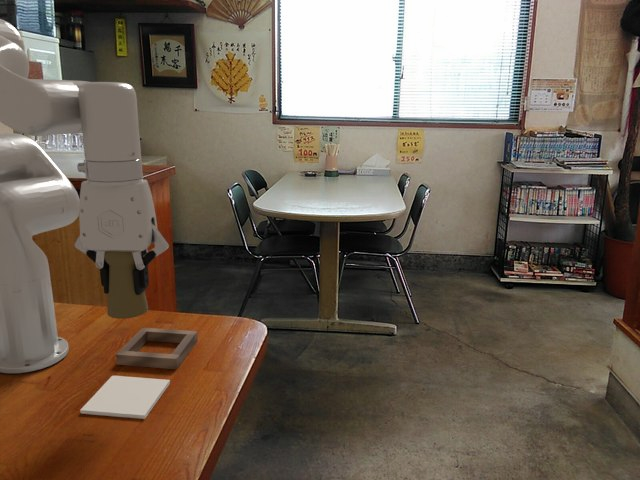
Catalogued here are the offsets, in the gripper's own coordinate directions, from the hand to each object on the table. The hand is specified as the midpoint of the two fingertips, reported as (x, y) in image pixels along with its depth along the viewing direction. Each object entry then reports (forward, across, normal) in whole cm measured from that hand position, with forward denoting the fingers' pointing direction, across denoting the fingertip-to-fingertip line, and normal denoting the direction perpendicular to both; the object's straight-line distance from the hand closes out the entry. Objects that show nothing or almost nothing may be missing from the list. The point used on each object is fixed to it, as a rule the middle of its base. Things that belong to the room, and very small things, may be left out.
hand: (126, 289), depth 81 cm
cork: (+4, 0, 0) cm, 4 cm away
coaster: (+17, 0, -2) cm, 18 cm away
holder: (+17, -1, +13) cm, 22 cm away
